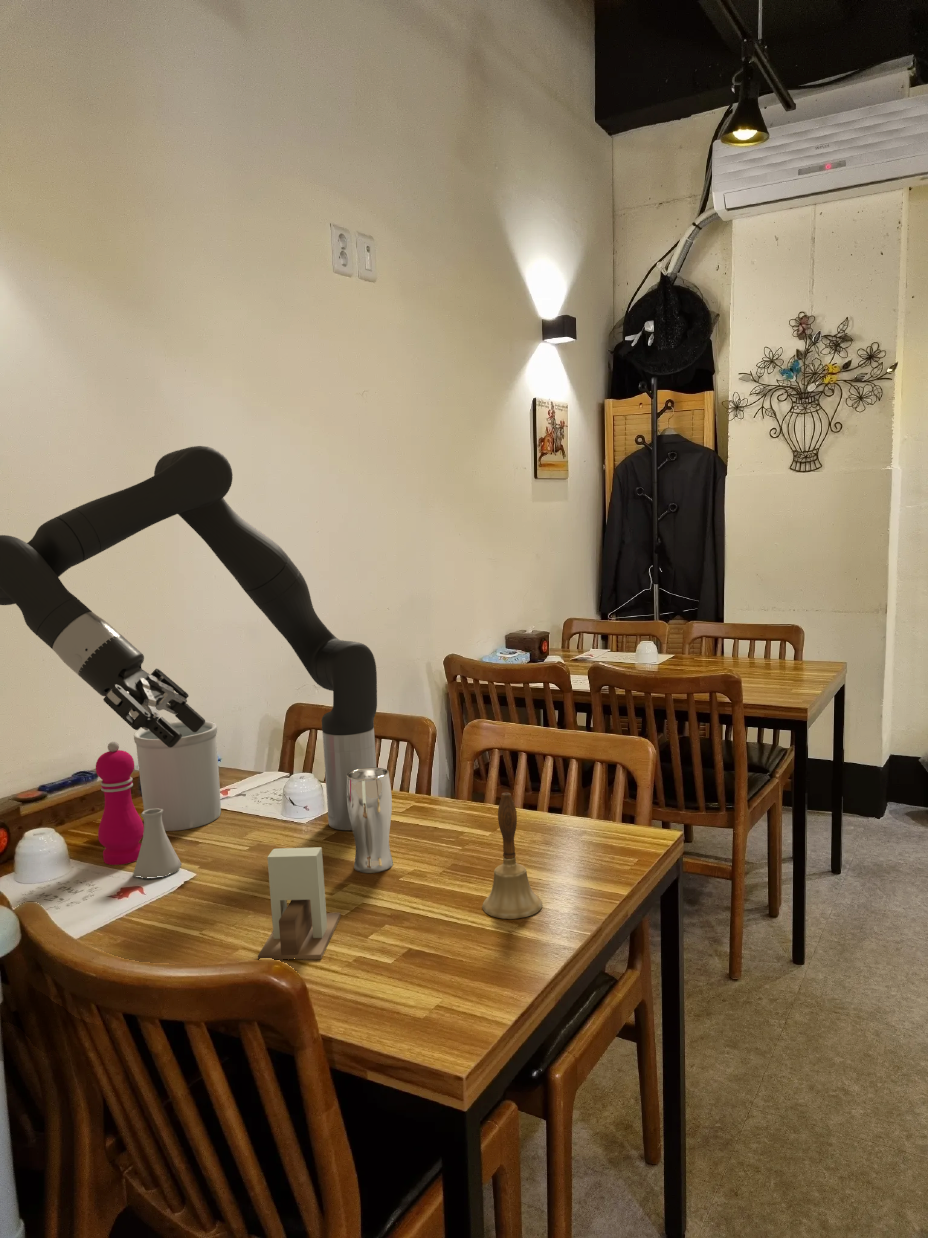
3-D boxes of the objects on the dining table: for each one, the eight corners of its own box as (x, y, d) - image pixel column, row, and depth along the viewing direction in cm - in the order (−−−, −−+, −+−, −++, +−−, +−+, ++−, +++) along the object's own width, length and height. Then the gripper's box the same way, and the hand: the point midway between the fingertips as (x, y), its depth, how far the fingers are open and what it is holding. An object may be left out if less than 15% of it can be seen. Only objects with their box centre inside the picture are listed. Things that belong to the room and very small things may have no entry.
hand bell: (470, 906, 124) (464, 794, 122) (515, 889, 129) (510, 781, 127) (509, 925, 118) (503, 808, 116) (554, 906, 123) (550, 793, 121)
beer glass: (403, 860, 142) (398, 768, 141) (381, 877, 136) (375, 781, 135) (366, 855, 145) (360, 765, 144) (343, 871, 139) (336, 777, 138)
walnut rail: (283, 918, 123) (280, 882, 123) (340, 916, 123) (338, 881, 122) (258, 960, 111) (255, 921, 111) (321, 959, 111) (318, 920, 110)
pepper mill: (155, 852, 152) (145, 737, 150) (126, 868, 145) (115, 748, 143) (121, 849, 154) (110, 735, 152) (91, 864, 148) (79, 746, 146)
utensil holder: (211, 831, 162) (203, 736, 160) (129, 834, 162) (120, 740, 160) (233, 805, 176) (226, 718, 174) (158, 808, 177) (150, 721, 175)
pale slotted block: (273, 939, 116) (267, 857, 115) (279, 928, 119) (273, 848, 118) (322, 938, 115) (316, 855, 114) (327, 927, 118) (321, 847, 117)
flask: (166, 881, 139) (160, 819, 138) (124, 880, 140) (118, 818, 139) (189, 863, 146) (184, 804, 145) (149, 862, 147) (144, 803, 146)
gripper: (90, 640, 112) (187, 726, 112) (138, 626, 126) (224, 703, 126) (53, 683, 113) (150, 769, 113) (105, 665, 127) (191, 741, 127)
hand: (189, 734), depth 120 cm, fingers open, 8 cm apart
